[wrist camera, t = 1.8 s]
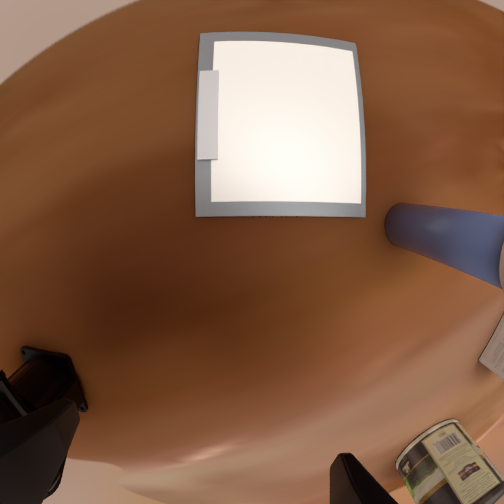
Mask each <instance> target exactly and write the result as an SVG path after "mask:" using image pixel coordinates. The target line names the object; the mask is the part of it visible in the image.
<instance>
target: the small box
mask: <svg viewBox="0 0 504 504" xmlns="http://www.w3.org/2000/svg"><path fill="white" fill-rule="evenodd" d="M479 362H481V363H482V364H483V365H484V366H486V367H487V368H488V369H490V370H491V371H492V372H493V373H495V374H496V375H497V376H498V377H500V378H501V379H502V380H503V381H504V314H503V316H502V318H501V320H500V322H499V324H498V326H497V328H496V330H495V332H494V334H493V336H492V338H491V339H490V341H489V343H488V345H487V346H486V348H485V350H484V352H483V353H482V355H481V357H480V358H479Z"/></svg>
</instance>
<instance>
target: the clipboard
mask: <svg viewBox="0 0 504 504" xmlns="http://www.w3.org/2000/svg"><path fill="white" fill-rule="evenodd" d="M195 207H196V217H211V216H333V217H365V213H366V151H365V128H364V113H363V100H362V90H361V80H360V72H359V64H358V56H357V50H356V43H351V42H346V41H341V40H335V39H329V38H322V37H315V36H307V35H297V34H286V33H269V32H216V33H200V45H199V60H198V77H197V99H196V133H195Z"/></svg>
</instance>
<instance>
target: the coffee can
mask: <svg viewBox="0 0 504 504" xmlns="http://www.w3.org/2000/svg"><path fill="white" fill-rule="evenodd" d="M396 469H397V470H398V471H399V473H400V475H401V477H402V478H403V480H404V482H405V484H406V486H407V488H408V490H409V492H410V494H411V496H412V497H413V499H414V501H415V503H416V504H494V503H495V502H496V501H497V500H499V499H500V497H502V496H503V495H504V477H503V476H502V475H501V473H500V472H499V471H498V470H497V468H496V467H495V466H494V465H493V463H492V462H491V461H490V460H489V458H488V457H487V456H486V455H485V453H484V452H483V451H482V450H481V449H480V447H479V446H478V445H477V444H476V443H475V441H474V440H473V439H472V438H471V437H470V435H469V434H468V433H467V432H466V431H465V430H464V428H463V427H462V426H461V425H460V423H459V421H458V420H455V419H449V420H445V421H443V422H441V423H439V424H437V425H435V426H433V427H431V428H430V429H428V430H427V431H425V432H424V433H423V434H421V435H420V436H418V437H417V438H416V439H415V440H414V441H413V442H412V443H410V444H409V445H408V446H407V447H406V448H405V450H404V451H403V452H402V453H401V454H400V456H399V457H398V459H397V462H396Z"/></svg>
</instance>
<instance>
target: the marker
mask: <svg viewBox="0 0 504 504" xmlns="http://www.w3.org/2000/svg"><path fill="white" fill-rule="evenodd" d="M385 232H386V235H387V237H388V239H389V240H390V242H391V243H393V244H394V245H396V246H399V247H401V248H404V249H407V250H409V251H412V252H415V253H417V254H420V255H422V256H425V257H428V258H430V259H433V260H435V261H438V262H440V263H443V264H445V265H448V266H450V267H453V268H455V269H457V270H460V271H462V272H465V273H467V274H469V275H472V276H474V277H476V278H479V279H481V280H483V281H486V282H488V283H490V284H492V285H495V286H497V287H499V288H501V289H503V290H504V216H501V215H494V214H488V213H481V212H475V211H467V210H460V209H452V208H444V207H436V206H427V205H418V204H408V203H400V204H397V205H395V206H393V207H392V208H391V209H390V211H389V212H388V214H387V216H386V220H385Z"/></svg>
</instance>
